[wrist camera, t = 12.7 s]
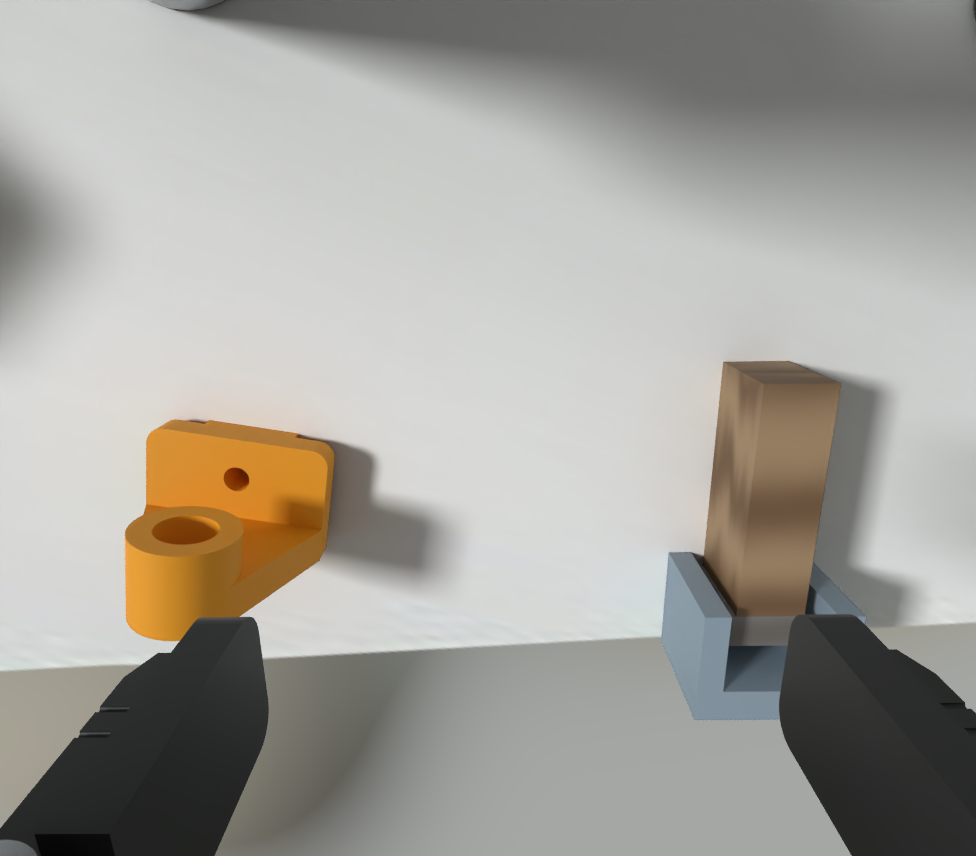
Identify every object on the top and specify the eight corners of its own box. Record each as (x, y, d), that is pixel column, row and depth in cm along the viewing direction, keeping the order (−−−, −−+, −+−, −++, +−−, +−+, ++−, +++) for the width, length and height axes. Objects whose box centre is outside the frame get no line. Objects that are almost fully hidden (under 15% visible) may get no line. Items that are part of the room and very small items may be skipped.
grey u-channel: (668, 552, 43) (705, 617, 35) (803, 551, 42) (866, 616, 35) (661, 641, 45) (694, 719, 37) (789, 640, 45) (846, 719, 37)
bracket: (339, 439, 40) (279, 522, 29) (329, 540, 42) (270, 655, 31) (168, 413, 40) (39, 487, 28) (167, 517, 42) (46, 624, 30)
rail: (720, 361, 39) (760, 384, 33) (792, 361, 39) (844, 383, 33) (697, 591, 43) (729, 646, 38) (761, 590, 43) (803, 645, 38)
